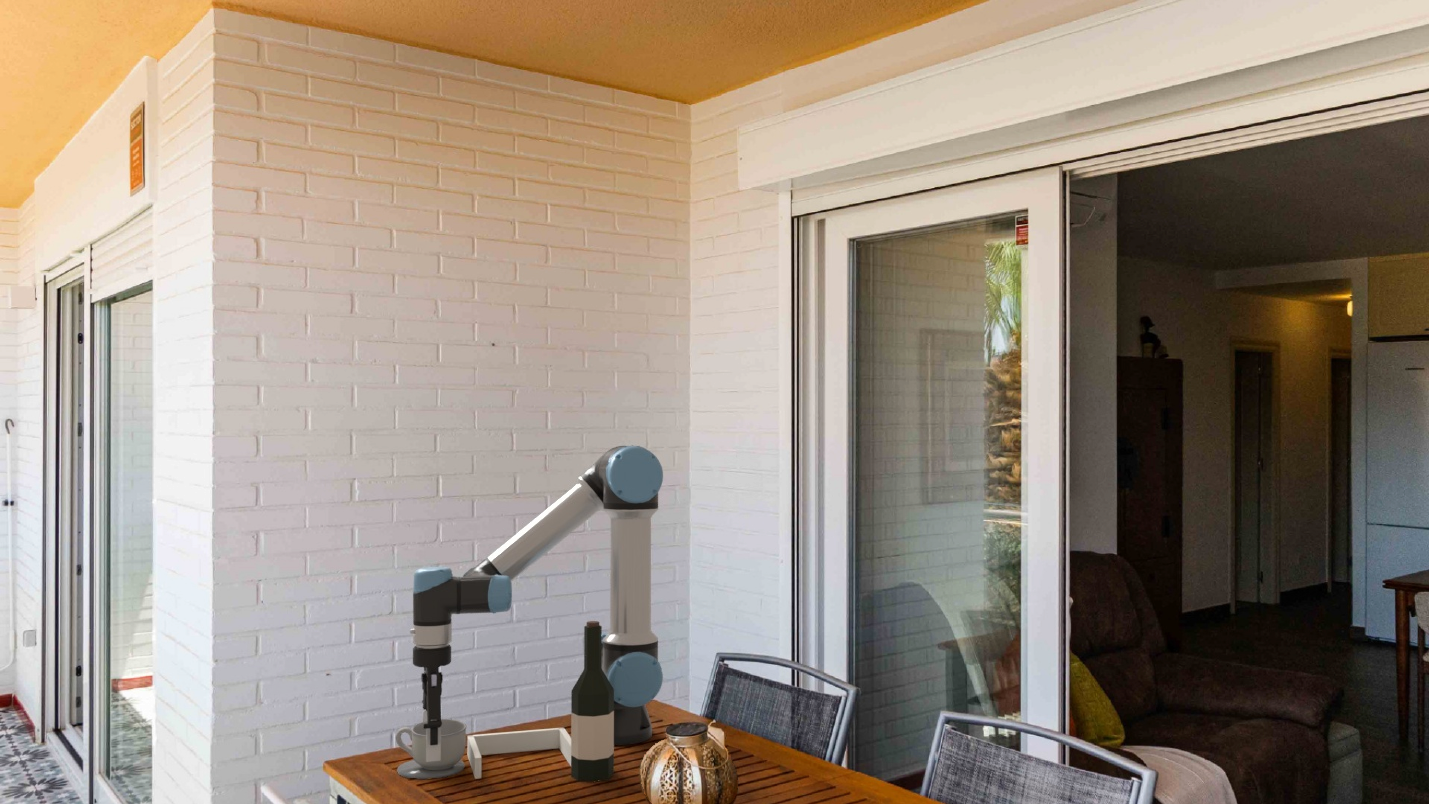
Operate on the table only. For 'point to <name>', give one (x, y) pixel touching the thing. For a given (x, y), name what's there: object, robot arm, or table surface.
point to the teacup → (450, 744)
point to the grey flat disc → (416, 771)
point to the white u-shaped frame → (516, 744)
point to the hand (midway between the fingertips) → (431, 751)
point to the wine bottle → (592, 714)
